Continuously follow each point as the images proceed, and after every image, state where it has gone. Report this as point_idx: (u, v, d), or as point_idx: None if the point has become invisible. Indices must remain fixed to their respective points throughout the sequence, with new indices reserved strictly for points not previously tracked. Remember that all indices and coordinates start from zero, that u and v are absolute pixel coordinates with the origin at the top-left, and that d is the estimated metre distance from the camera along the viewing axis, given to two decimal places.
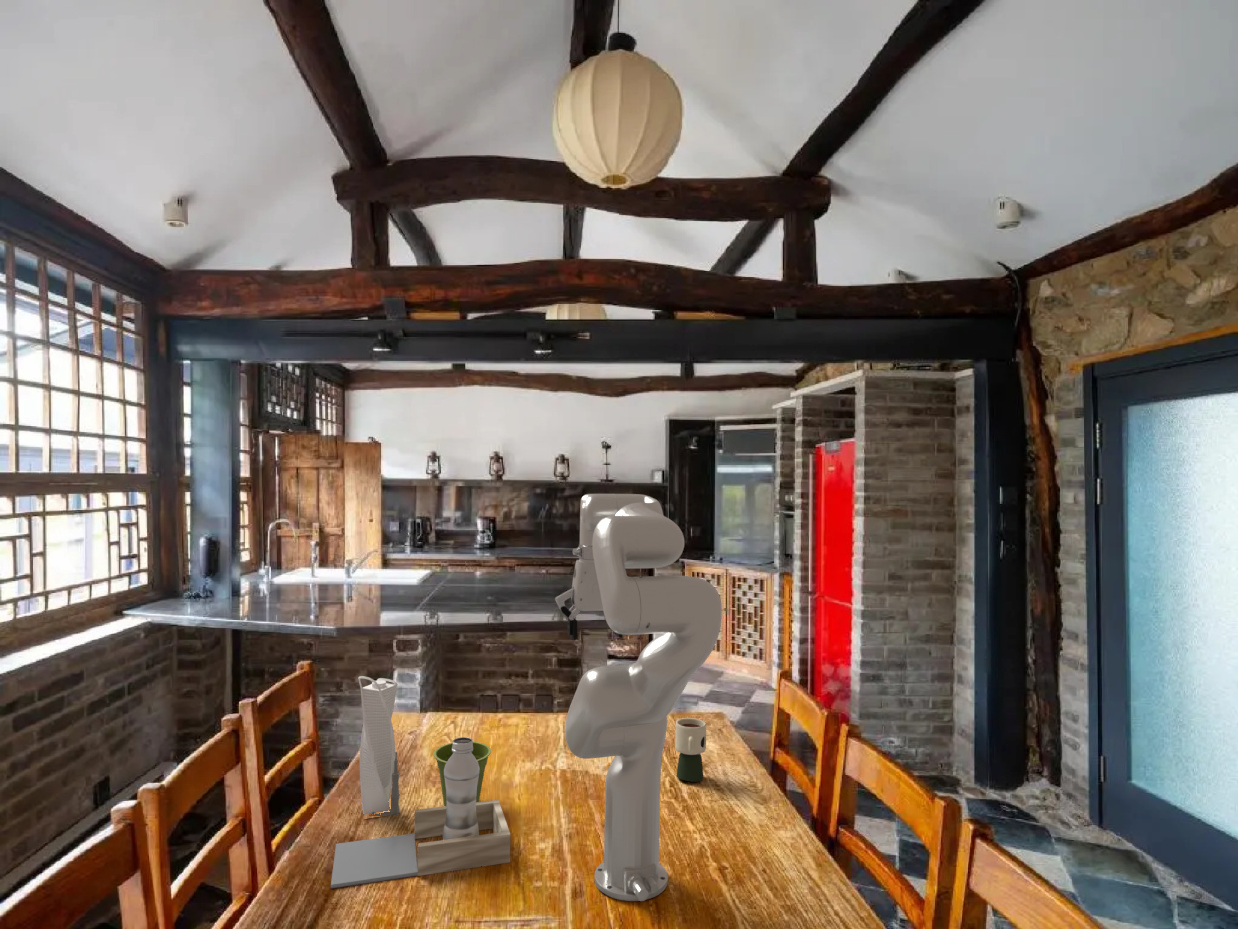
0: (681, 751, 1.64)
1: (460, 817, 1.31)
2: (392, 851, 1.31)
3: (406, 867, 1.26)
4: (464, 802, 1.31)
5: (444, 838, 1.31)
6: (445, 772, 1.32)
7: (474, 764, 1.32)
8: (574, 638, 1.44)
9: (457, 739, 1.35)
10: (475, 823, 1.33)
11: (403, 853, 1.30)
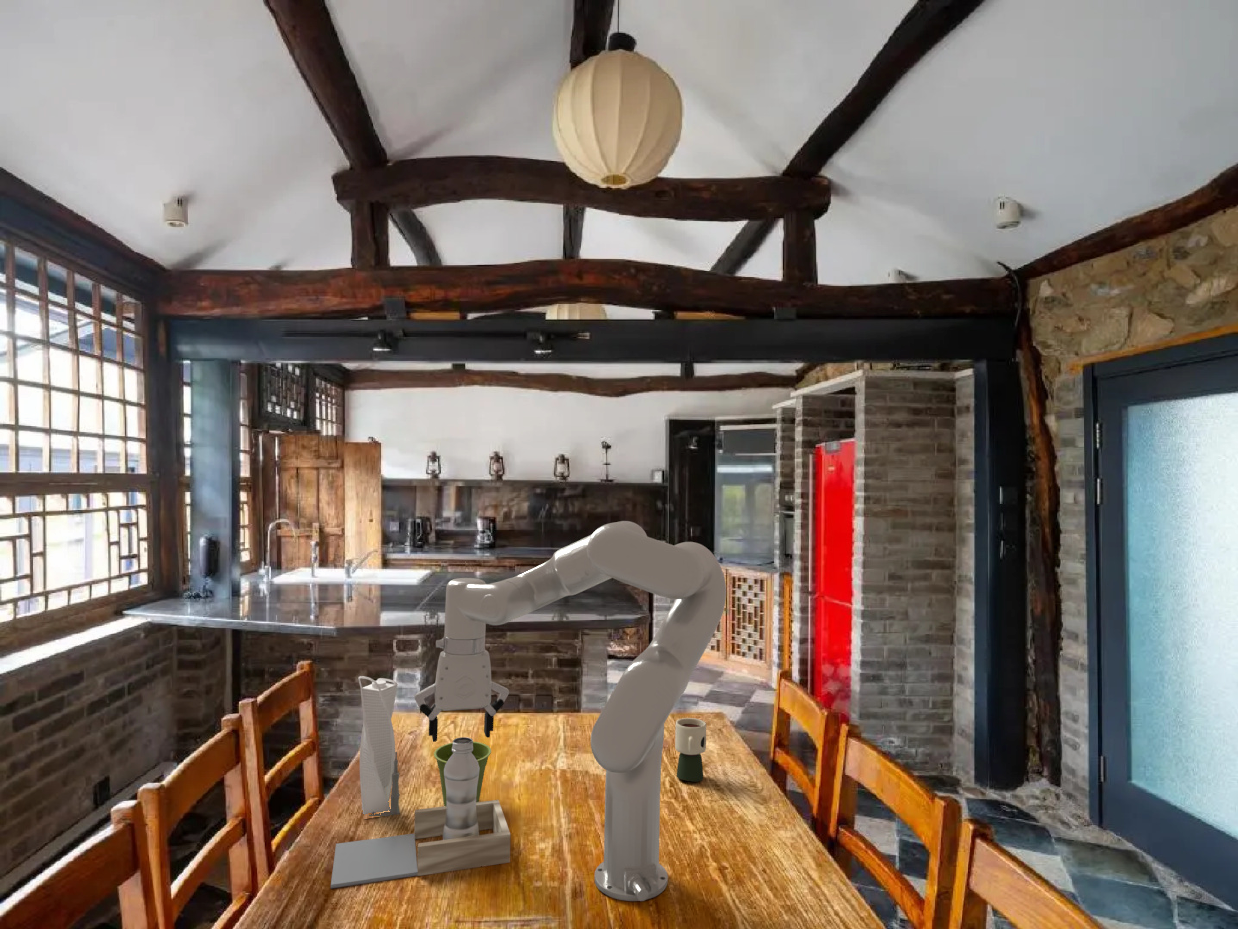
0: (681, 751, 1.64)
1: (460, 817, 1.31)
2: (392, 851, 1.31)
3: (406, 867, 1.26)
4: (464, 802, 1.31)
5: (444, 838, 1.31)
6: (445, 772, 1.32)
7: (474, 764, 1.32)
8: (434, 740, 1.31)
9: (457, 739, 1.35)
10: (475, 823, 1.33)
11: (403, 853, 1.30)
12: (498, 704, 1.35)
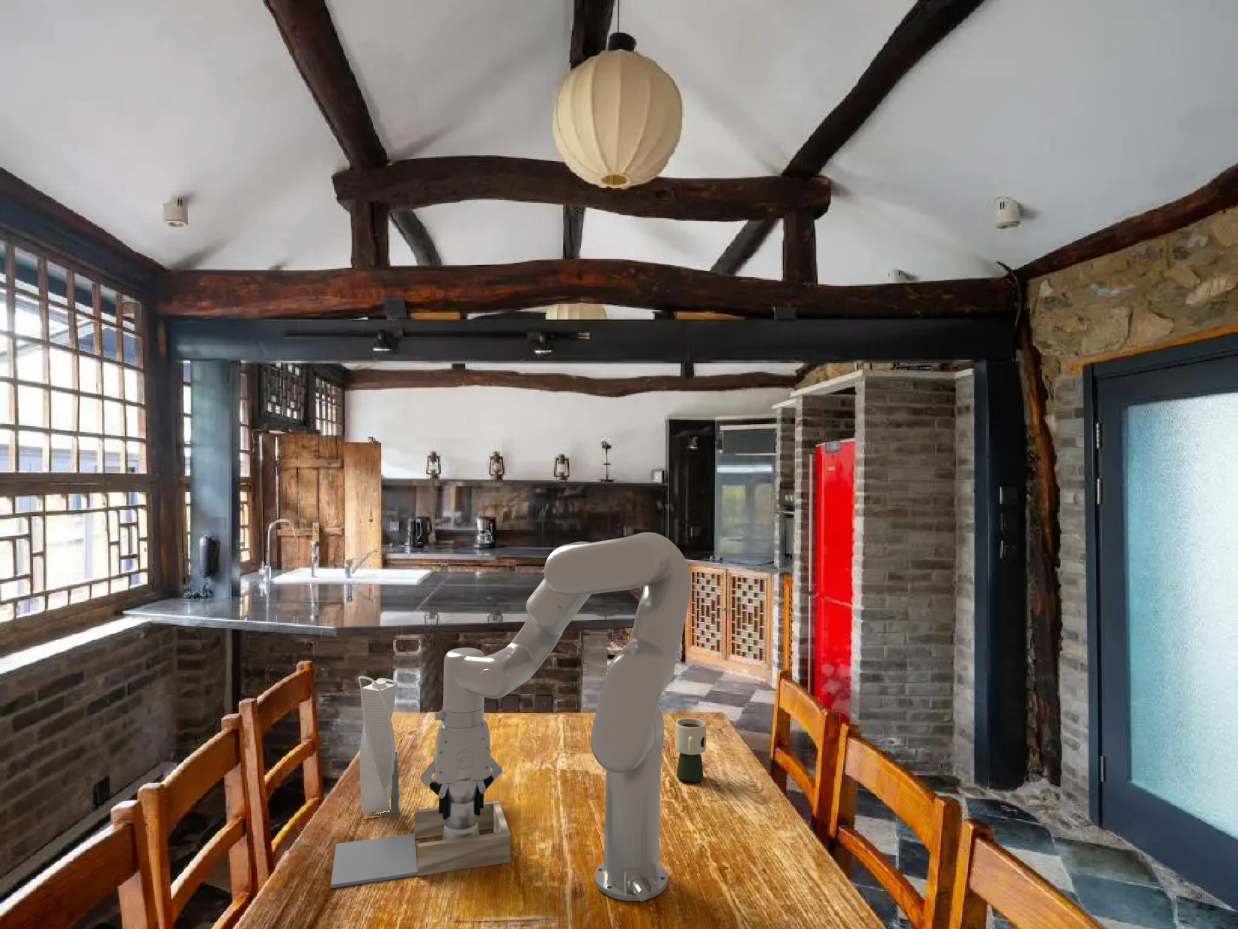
0: (681, 751, 1.64)
1: (460, 816, 1.31)
2: (392, 851, 1.31)
3: (406, 867, 1.26)
4: (464, 802, 1.31)
5: (444, 838, 1.31)
6: None
7: None
8: (444, 818, 1.31)
9: None
10: (475, 823, 1.33)
11: (403, 853, 1.30)
12: (488, 781, 1.34)
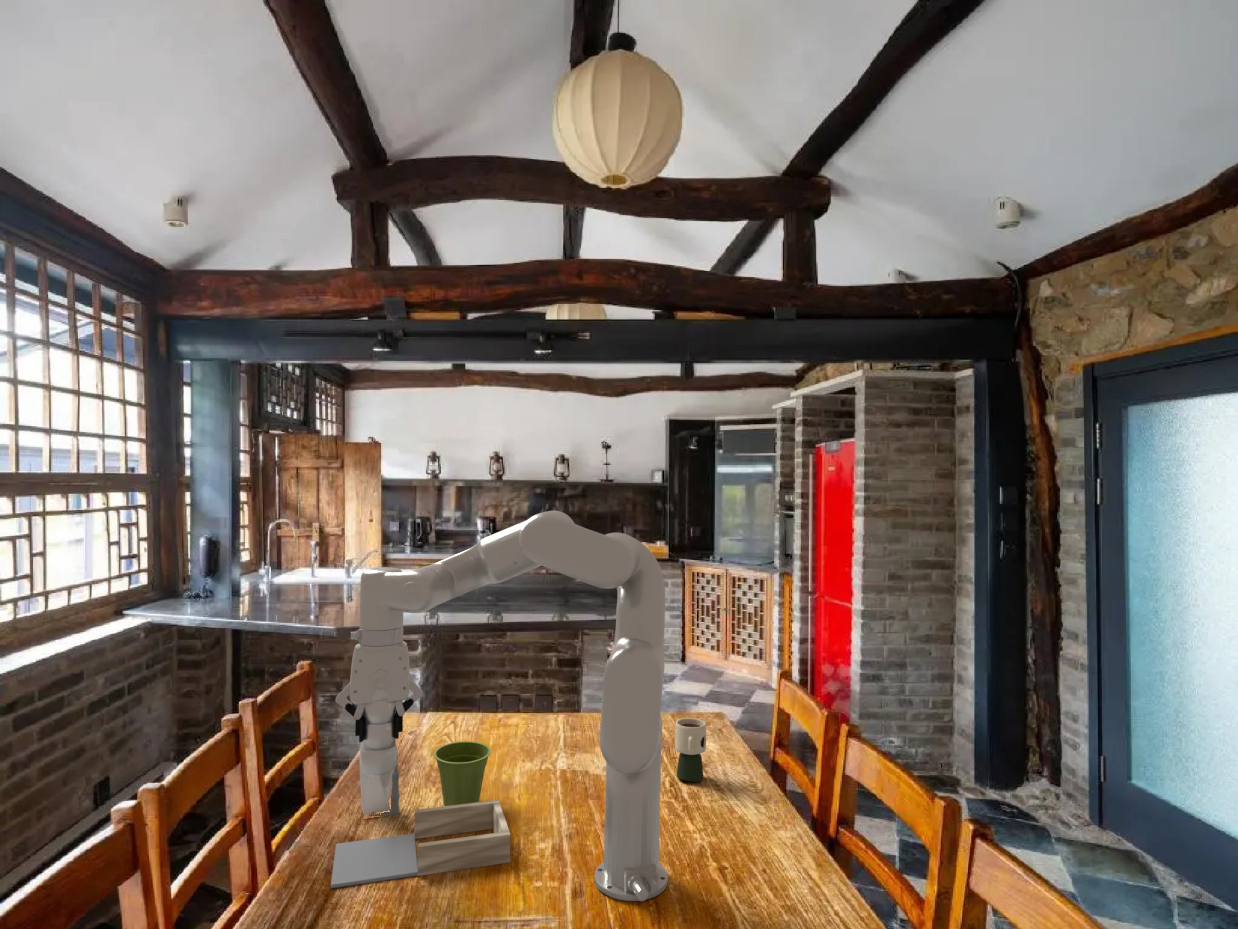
0: (681, 751, 1.64)
1: (377, 738, 1.27)
2: (392, 851, 1.31)
3: (406, 867, 1.26)
4: (381, 723, 1.27)
5: (360, 761, 1.27)
6: None
7: None
8: (360, 740, 1.27)
9: None
10: (393, 746, 1.28)
11: (403, 853, 1.30)
12: (407, 704, 1.30)
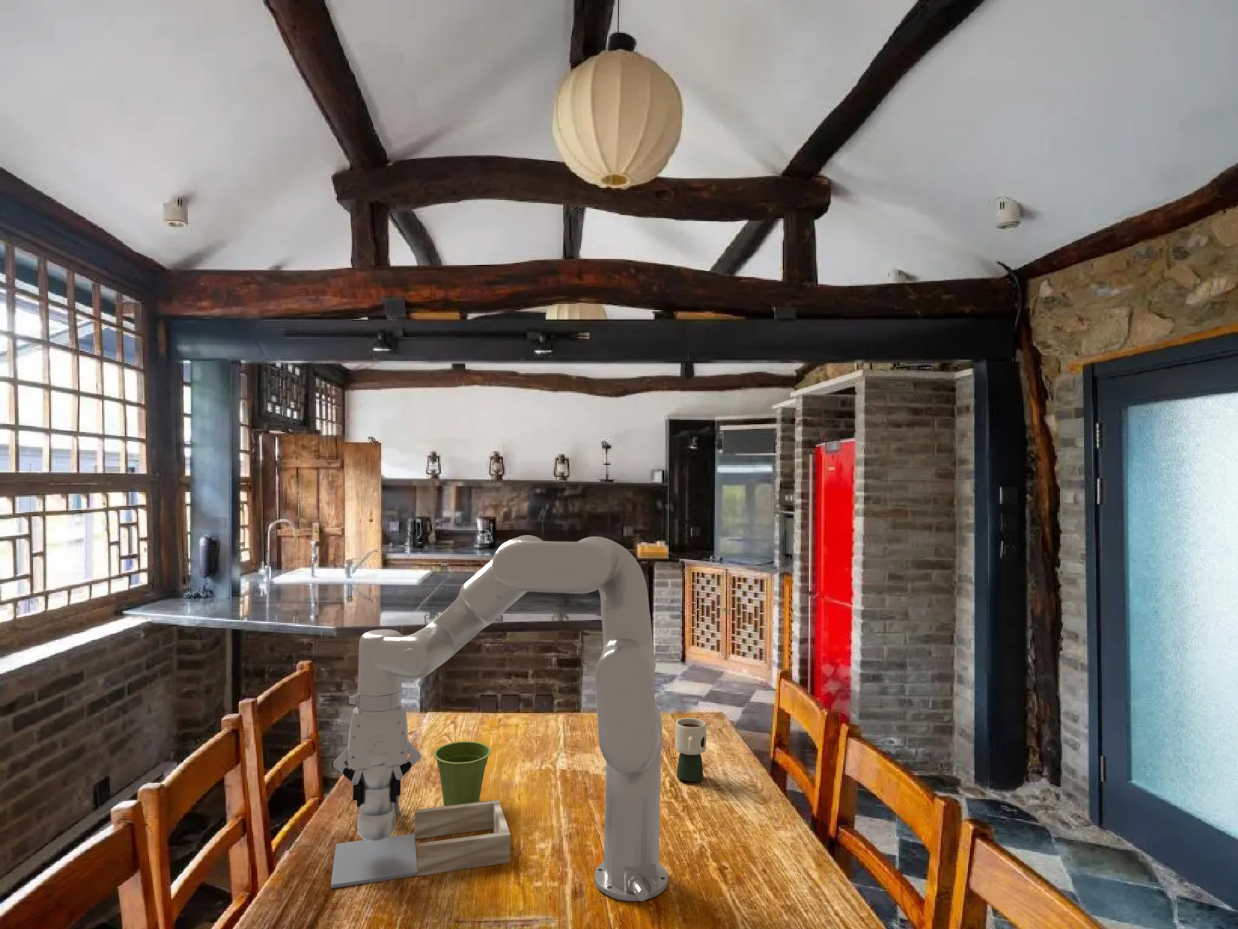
0: (681, 751, 1.64)
1: (374, 803, 1.26)
2: (392, 851, 1.31)
3: (406, 867, 1.26)
4: (378, 788, 1.26)
5: (358, 825, 1.27)
6: None
7: None
8: (357, 805, 1.26)
9: None
10: (391, 810, 1.28)
11: (403, 853, 1.30)
12: (405, 767, 1.29)
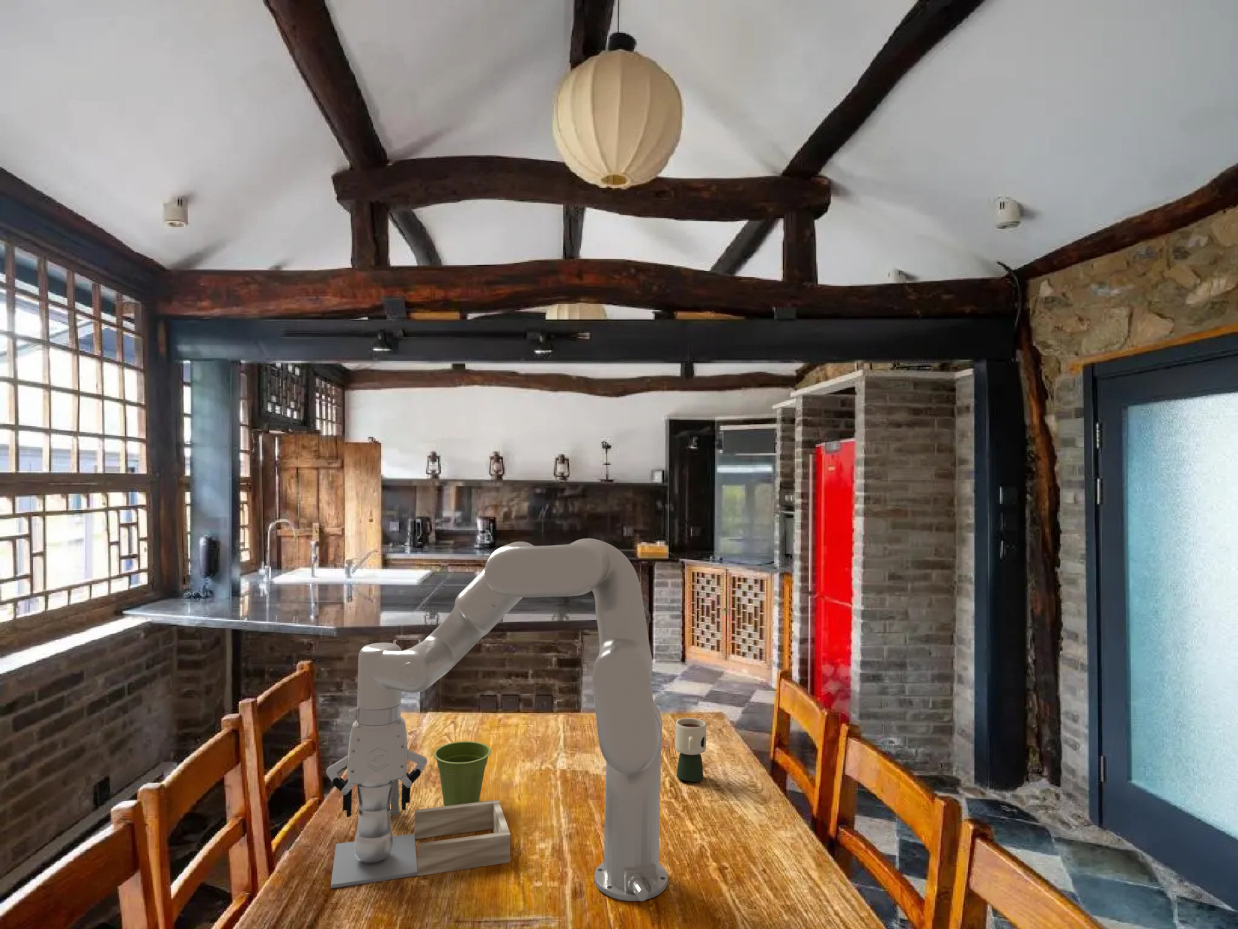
0: (681, 751, 1.64)
1: (372, 825, 1.26)
2: (392, 851, 1.31)
3: (406, 867, 1.26)
4: (376, 810, 1.26)
5: (355, 847, 1.26)
6: None
7: None
8: (347, 815, 1.26)
9: None
10: (388, 832, 1.27)
11: (403, 853, 1.30)
12: (415, 775, 1.30)
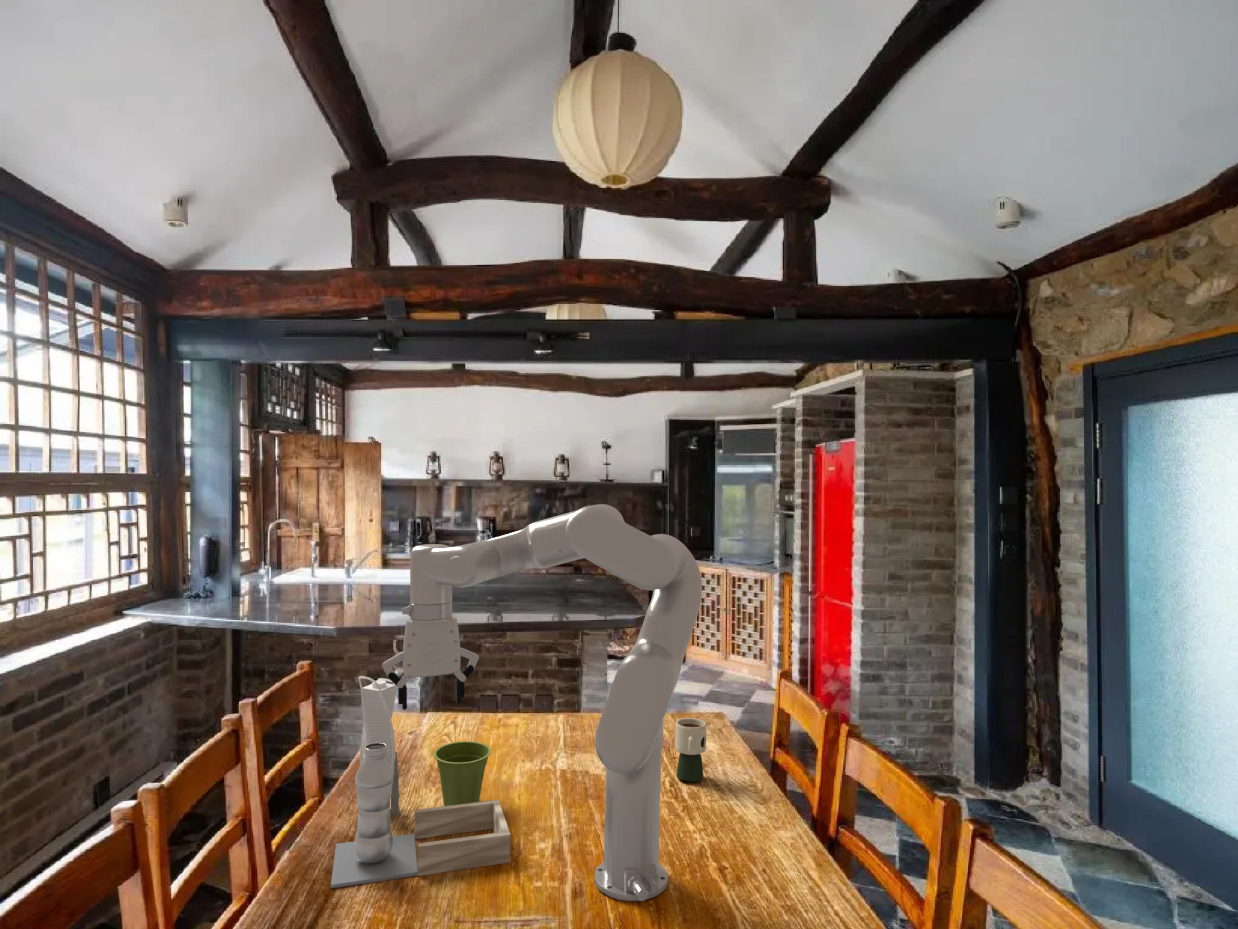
0: (681, 751, 1.64)
1: (371, 826, 1.26)
2: (392, 851, 1.31)
3: (406, 867, 1.26)
4: (375, 810, 1.26)
5: (355, 848, 1.26)
6: (356, 779, 1.26)
7: (387, 771, 1.27)
8: (403, 708, 1.29)
9: (370, 745, 1.29)
10: (388, 832, 1.27)
11: (403, 853, 1.30)
12: (468, 670, 1.34)
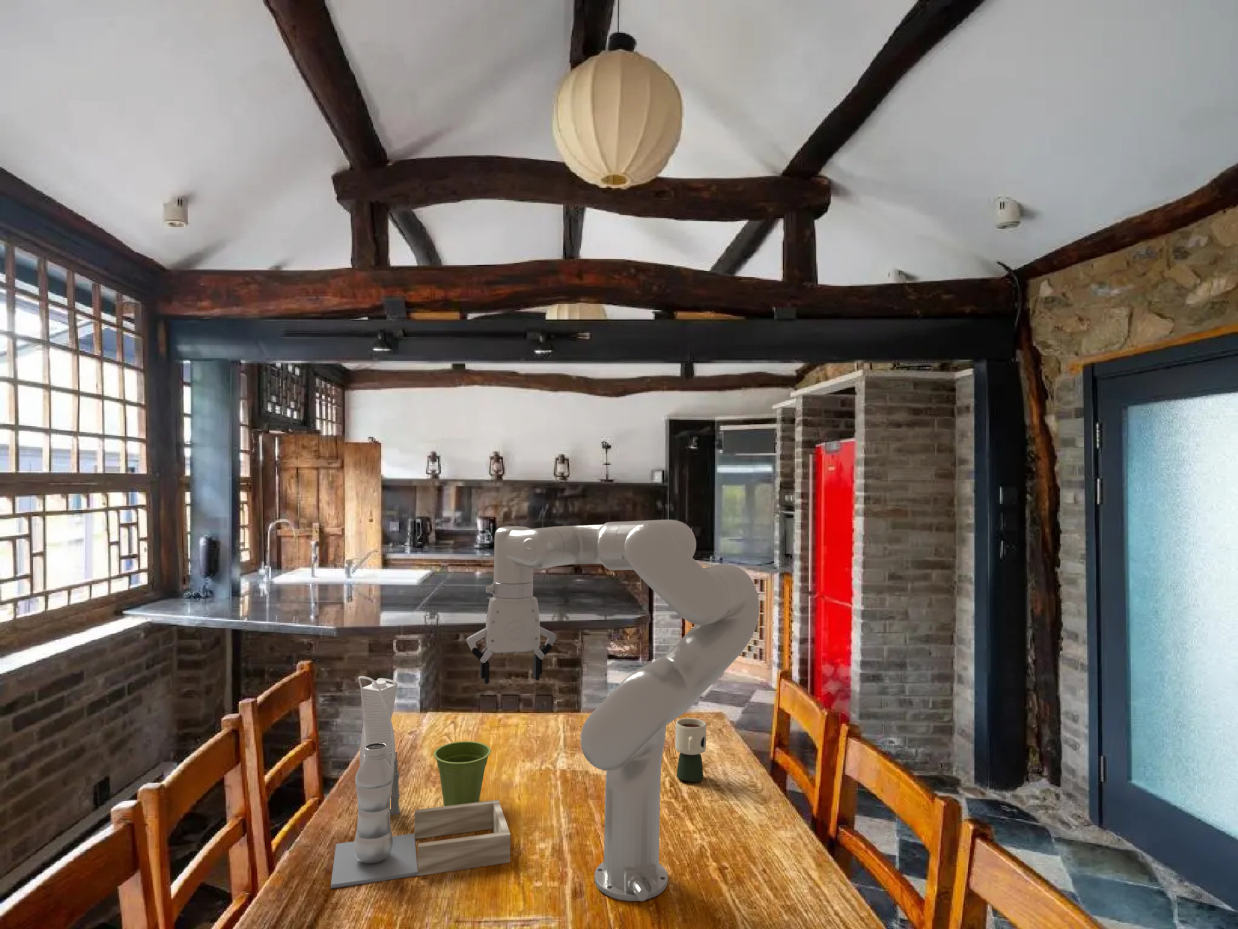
0: (681, 751, 1.64)
1: (371, 826, 1.26)
2: (392, 851, 1.31)
3: (406, 867, 1.26)
4: (375, 810, 1.26)
5: (355, 848, 1.26)
6: (356, 779, 1.26)
7: (387, 771, 1.27)
8: (486, 682, 1.35)
9: (370, 745, 1.29)
10: (388, 832, 1.27)
11: (403, 853, 1.30)
12: (546, 648, 1.39)
